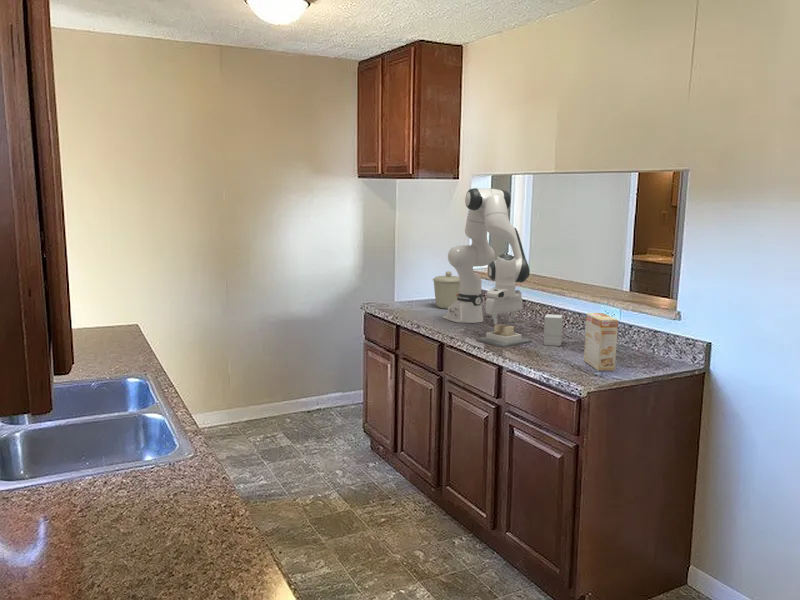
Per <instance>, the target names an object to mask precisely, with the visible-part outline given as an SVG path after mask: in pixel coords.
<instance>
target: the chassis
mask: <svg viewBox="0 0 800 600" xmlns="http://www.w3.org/2000/svg"><path fill="white" fill-rule="evenodd" d="M475 341H477V342H480V343H483V344H484V343H485V344H488V345H492V346H495V345H496V347H499V348H509V347H515V346H519V345H524V344H531V343H533V340H532V339H530V338H525V337H523V334H520V333H517V332H514V335H513V336H507V337H505V336H501V335H497V334H494V331H489V332H486V335H485V336H481V337H476V338H475Z"/></svg>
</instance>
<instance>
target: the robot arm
mask: <svg viewBox="0 0 800 600" xmlns="http://www.w3.org/2000/svg"><path fill="white" fill-rule="evenodd" d="M464 200H465V201H464V202H465V206H466V207H467V209H468V212H467V217H466V223H465V229H464V232H465V235H466V237H467V238H469V239H470V240H471V244H468V245H467V244H466V245H465V244H463V245H457V246H453V247H451V248H450V249H449V250H448V253H447V259H448V262H449V265H450V266H452V267H453V268H454V269H455V270H456V273H457V274H458V275H457V276H458V277H459V280H460V293H459V294H456V295H457V296H458V298H457V300H456V301H455V302H454V303H453V304H451V305H450V306H449V307H448V309H447V314H444V315H443V316H442V319H445V320H448V321H451V322H454V323H467V324H472V323H473V324H475V323H483V322H484V320H485V319H484V316H483V315H484V314H483V305H482V302H483V293H482V283H483V282H482V277H481V276H479V275H478V274H476V273H475V271H474V268H475V267H485V266H487V268H488V270H487V271H488V272H487V276H488V278H489V279H490V280H491V281H494V282H495V285H494V287H492V288H491V289H489V290H487V291H486V300H485V313H486V314H487V315H490V316H491V317H492V319H493V324H494V325H499V324H500V319H498V315H501V314H507V313H510V316H508V322H514V321H515V317H516V315H517V312H519V311H522V310H523V297H522V292H521V290H519V289H517V290H516V283H520V284H521V283H522V284H523V283H524V282H525V281H526V280H528V279H529V277H530V272H531V271H530V266H529V263H528V261H527V258H526V255H525V252H524V248H523V244H522V240H521V237H520V234H519V231H518V230H517V228H516V227H515V226H513V225H512V223H511V221H510V218H509V211H508V209H510V206H511V203H512V198H511V194H510V193H509V191H507V190H504V189H498V188H497V189H496V188H477V187H475V188H474V187H473V188H470V189H469V190H468V191H467V192H466V194H465V197H464ZM488 233H489V234H490V235H491V236H492V237H495V238H497V239H499V240H500V239H501V240H502V241H505V242H507V243H508V244H509V245H510V247H511V250H512V254H513V255H512V254H506V253H505V254H504V253H503V254H499V255H498V256H497V258H496V259H495V250H494V249H493V247H492V246H490V243H489V242H488Z"/></svg>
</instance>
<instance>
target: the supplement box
mask: <svg viewBox="0 0 800 600" xmlns="http://www.w3.org/2000/svg"><path fill="white" fill-rule="evenodd" d="M543 318H544V320H543V321H544V323H543V324H544V325H543V326H544V327H543V346H555V347H561V345H562V340H563V320H564V318H563V314H550V313H549V314H548V313H547V314H545V316H544V317H543Z"/></svg>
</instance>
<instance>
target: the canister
mask: <svg viewBox="0 0 800 600" xmlns="http://www.w3.org/2000/svg"><path fill="white" fill-rule="evenodd" d="M452 274H453V273H452V271H450V270H447V271H445V274H444V275H438V276H435V277H434V278H432V281H433V288H434V297H435V304H436V307H437V308H440V309H443V310H448V307H449V306H450V305H451V304H453V303H454V302H455V301H456V300H457V298H458V296H457V295H456V294H459V293H460V280H459V275H452Z"/></svg>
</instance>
